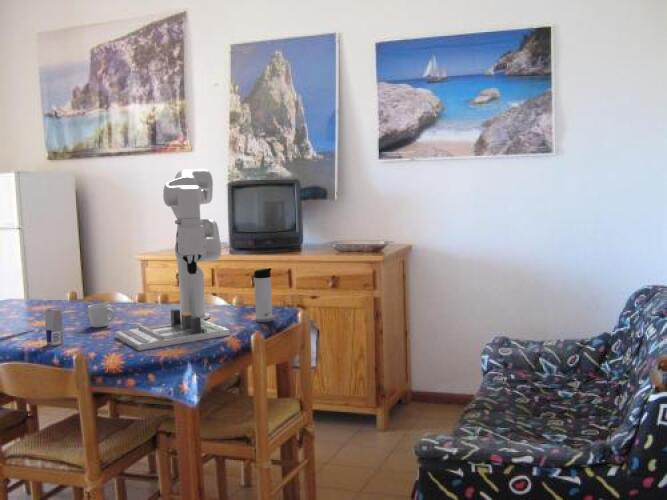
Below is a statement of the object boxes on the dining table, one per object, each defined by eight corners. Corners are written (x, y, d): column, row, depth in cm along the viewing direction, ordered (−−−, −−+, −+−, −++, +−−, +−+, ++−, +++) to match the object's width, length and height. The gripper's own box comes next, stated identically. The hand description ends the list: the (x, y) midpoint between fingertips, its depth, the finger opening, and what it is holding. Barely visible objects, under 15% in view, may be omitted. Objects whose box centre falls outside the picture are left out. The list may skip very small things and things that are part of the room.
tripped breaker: (182, 327, 239) (181, 313, 238) (188, 326, 240) (187, 312, 240) (185, 328, 237) (184, 314, 236) (192, 327, 238) (191, 313, 237)
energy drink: (49, 342, 231) (47, 308, 230) (66, 341, 232) (63, 307, 231) (44, 346, 226) (42, 311, 225) (61, 345, 227) (58, 310, 225)
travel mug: (270, 322, 254) (268, 269, 251) (253, 322, 255) (251, 269, 253) (275, 319, 260) (273, 267, 258) (258, 318, 261) (256, 267, 259)
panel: (115, 337, 236) (114, 316, 236) (201, 324, 254) (200, 304, 254) (138, 350, 217) (137, 328, 216) (229, 335, 235) (228, 314, 234)
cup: (121, 324, 258) (120, 304, 257) (108, 329, 250) (106, 308, 249) (98, 323, 261) (96, 303, 260) (84, 328, 254) (82, 307, 253)
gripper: (172, 225, 232) (175, 277, 235) (213, 221, 240) (216, 272, 243) (165, 223, 239) (168, 274, 241) (205, 220, 247) (207, 269, 249)
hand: (192, 273), depth 242 cm, fingers closed
